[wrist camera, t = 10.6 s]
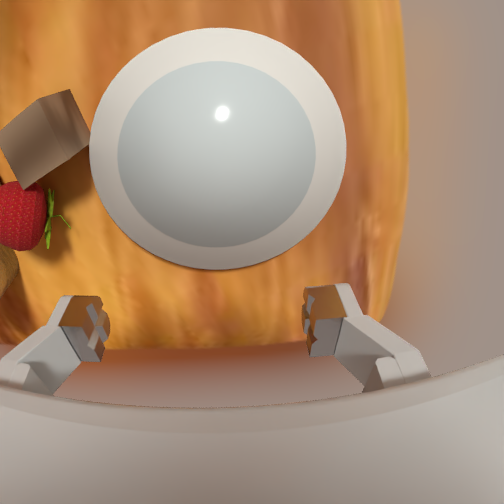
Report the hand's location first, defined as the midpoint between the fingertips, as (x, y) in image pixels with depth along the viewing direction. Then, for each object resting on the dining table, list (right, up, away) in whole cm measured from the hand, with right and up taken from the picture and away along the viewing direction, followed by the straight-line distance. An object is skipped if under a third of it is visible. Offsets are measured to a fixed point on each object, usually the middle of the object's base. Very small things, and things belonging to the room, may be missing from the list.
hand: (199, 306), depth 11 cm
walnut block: (-14, +12, +11) cm, 21 cm away
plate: (-1, +9, +13) cm, 16 cm away
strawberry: (-22, +5, +7) cm, 23 cm away
